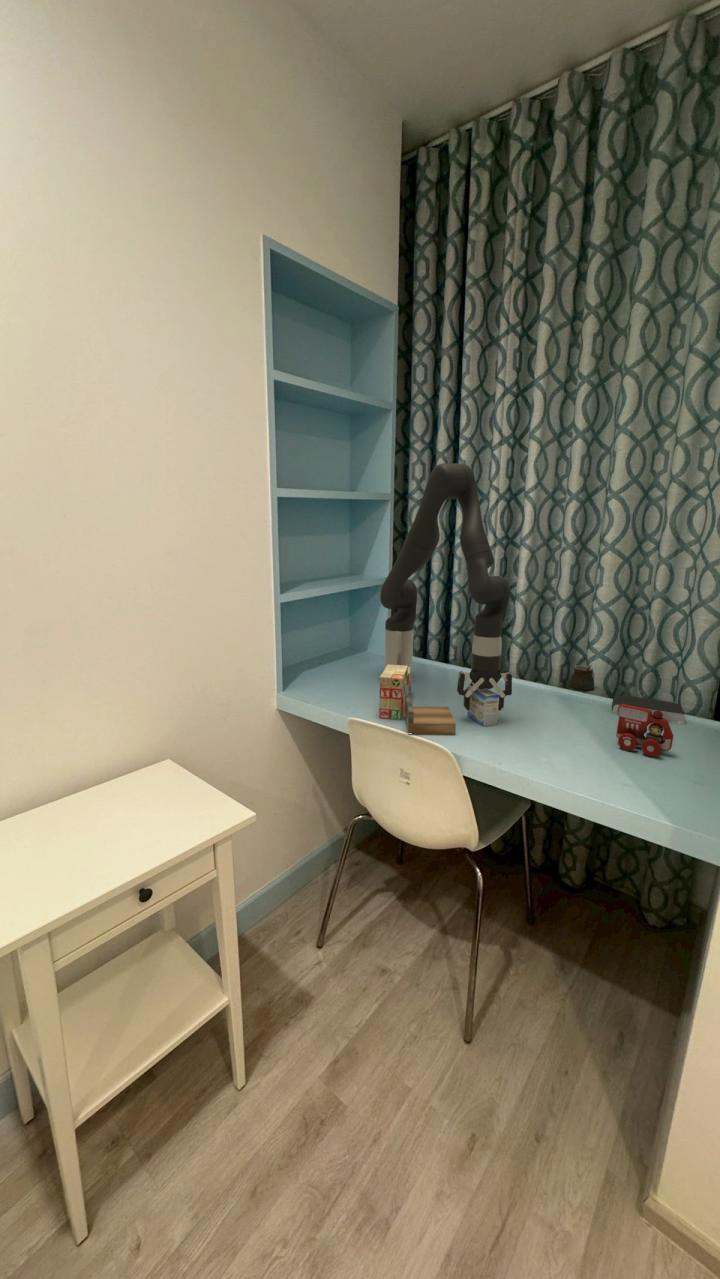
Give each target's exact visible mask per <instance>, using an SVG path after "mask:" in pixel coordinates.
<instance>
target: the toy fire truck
mask: <svg viewBox="0 0 720 1279" xmlns="http://www.w3.org/2000/svg"><path fill="white" fill-rule="evenodd" d="M617 714H618V723H617V728H616V734H615V736H616V738H617V743H618V746H619V747H620V748H621V749H622V750H624V751H627V752H631V751H634V750H635V749H636V747H637V746H638V744H639V745H641V746H640V749H641V751H642V753H643V754H644V755H645V756H647V757H651V758H654V757H657V756H659V755H660V753H661V751H667V752H668V751H670V750H672V747H673V742H674V734H673V732H672V729H671V727H670V726H671V725H670V723H668V721H667V720H666V719H665V718H662V717H663V713H662V712H661V711H659V710H657V711H655V712H654V713H653V715H652V712H651V711H650V710H649V709H645V708H640V707H635V706H630V705H626V704H621V705H619V707H618V712H617ZM617 714H616V715H617ZM647 731H648V732H647Z"/></svg>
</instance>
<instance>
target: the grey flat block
mask: <svg viewBox="0 0 720 1279" xmlns="http://www.w3.org/2000/svg"><path fill="white" fill-rule="evenodd" d="M612 700H613V702H612V701H611V710H610V711H611V713H610V714H613V715H616V716H617V715H618V714H617V712H618V707H619V705H621V704H626V705H630V706H635V707H640V708H645V709H649V710H650V711H651V712H652V715H653V713H654V712H655V711H657V710H659V711H661V712H662V713H663V717H662V718H665V719H666V720H667V721H668V723H669V724H673V725H675V724H676V725H683V726H684V725H685V726H686V719H685V716H684V712H683V708H682V706H681V704H679V703H675V702H672V701H668V700H667V701H666V700H660V699H654V698H649V697H641V696H633V695H632V696H630V695H614V697H613V699H612Z"/></svg>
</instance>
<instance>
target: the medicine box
mask: <svg viewBox="0 0 720 1279" xmlns="http://www.w3.org/2000/svg"><path fill="white" fill-rule="evenodd" d="M498 705H499V694H498V693H496V692H494V691H493V690H491V689H486V688H485V689H479V688H477V689H476V690H475V691H474V692H473V693H472V694H471V695H470V710H467V712H466V714H467V717H468V718H469V719H471V720H473V721H474V722H476V723H477V724H479V725H481V726H482V727H489V726H495V725H497V724H498V718H499V716H498V713H499V710H498Z"/></svg>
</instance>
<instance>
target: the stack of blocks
mask: <svg viewBox="0 0 720 1279" xmlns="http://www.w3.org/2000/svg"><path fill="white" fill-rule="evenodd" d="M411 694H412V679H411V667H408V666H405V665H387V666H386V668H385V670H384V669H383V672H382V673H381V674H380V676H379V709H378V710H379V711H378V713H379V716H378V719H384V720H397V721H401V720H402V718H403V717H404V716H405V696H408V697H410V698H411Z"/></svg>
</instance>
